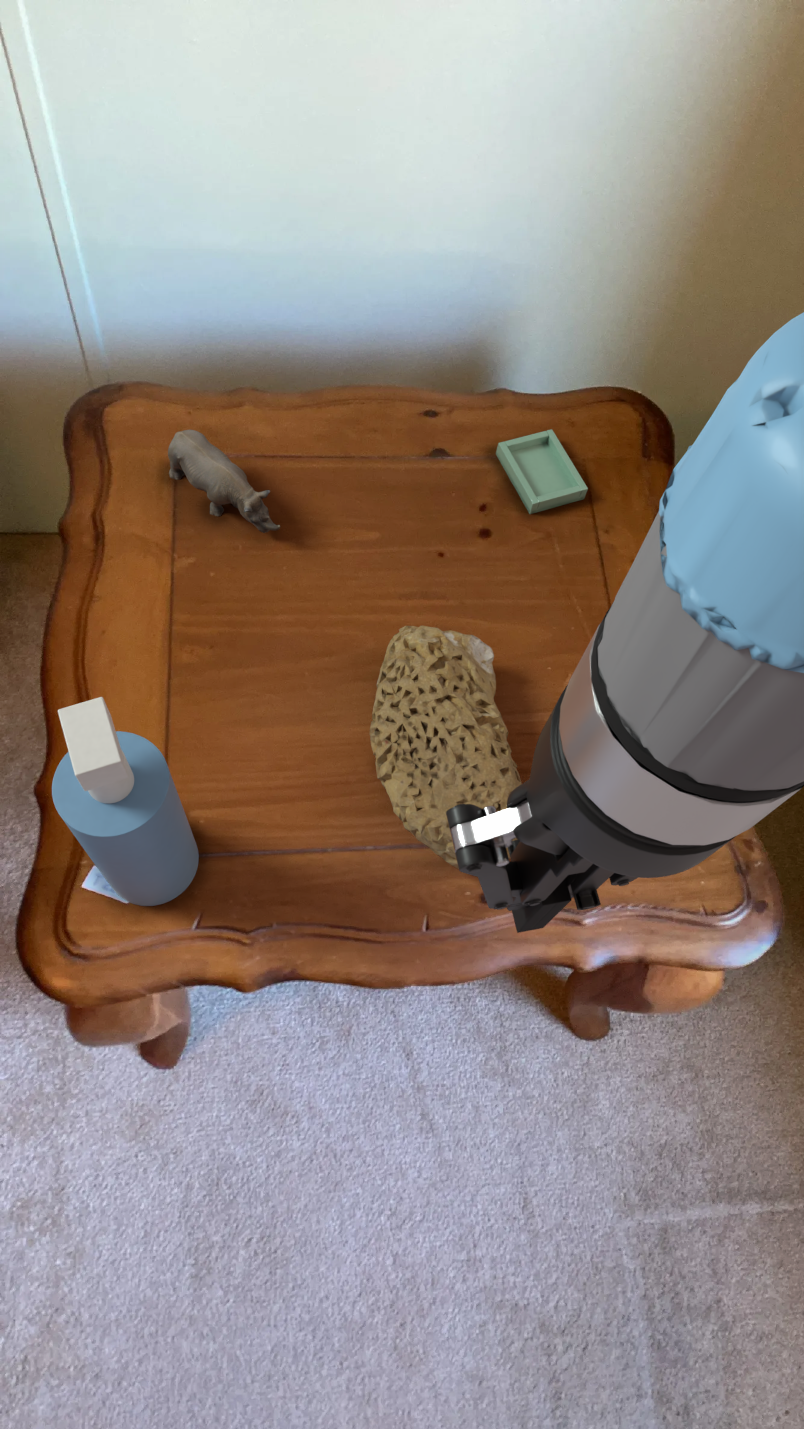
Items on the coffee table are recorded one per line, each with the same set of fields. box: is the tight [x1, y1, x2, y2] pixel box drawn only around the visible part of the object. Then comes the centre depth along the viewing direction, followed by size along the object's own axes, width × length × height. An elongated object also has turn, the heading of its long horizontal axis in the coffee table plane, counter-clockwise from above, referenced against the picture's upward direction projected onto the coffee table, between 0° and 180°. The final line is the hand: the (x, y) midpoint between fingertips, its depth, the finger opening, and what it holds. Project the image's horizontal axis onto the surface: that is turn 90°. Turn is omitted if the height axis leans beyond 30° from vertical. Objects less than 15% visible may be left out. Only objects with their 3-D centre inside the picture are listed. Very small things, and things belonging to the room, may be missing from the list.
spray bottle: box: [51, 696, 200, 907], centre depth 61 cm, size 7×7×21 cm
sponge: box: [369, 625, 523, 870], centre depth 73 cm, size 13×8×20 cm
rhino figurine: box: [167, 429, 281, 534], centre depth 84 cm, size 4×14×6 cm, turn 48°
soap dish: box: [495, 428, 589, 515], centre depth 90 cm, size 8×6×2 cm
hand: (524, 906), depth 52 cm, fingers closed
